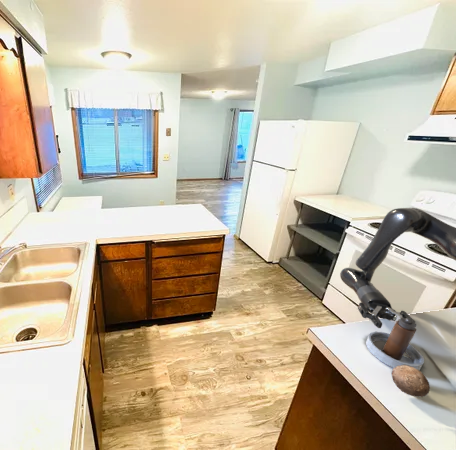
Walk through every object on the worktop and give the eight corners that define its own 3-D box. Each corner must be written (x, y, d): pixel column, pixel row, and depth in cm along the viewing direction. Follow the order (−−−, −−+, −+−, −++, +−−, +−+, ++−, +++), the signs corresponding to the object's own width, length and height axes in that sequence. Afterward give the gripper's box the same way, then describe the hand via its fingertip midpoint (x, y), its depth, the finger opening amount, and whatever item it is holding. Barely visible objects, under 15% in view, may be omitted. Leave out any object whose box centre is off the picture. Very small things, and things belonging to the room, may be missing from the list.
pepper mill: (396, 350, 80) (414, 315, 75) (404, 361, 76) (424, 325, 71) (379, 346, 82) (396, 311, 76) (386, 357, 78) (405, 321, 72)
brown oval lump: (393, 357, 74) (408, 358, 68) (422, 380, 70) (441, 383, 65) (379, 377, 72) (394, 379, 67) (408, 402, 69) (426, 406, 63)
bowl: (403, 345, 83) (407, 337, 82) (430, 379, 72) (435, 371, 70) (358, 335, 87) (361, 327, 86) (376, 366, 75) (380, 358, 74)
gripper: (353, 287, 94) (374, 315, 79) (398, 295, 90) (428, 326, 75) (348, 303, 96) (366, 332, 82) (391, 311, 92) (418, 344, 78)
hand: (396, 329), depth 79 cm, fingers open, 8 cm apart
